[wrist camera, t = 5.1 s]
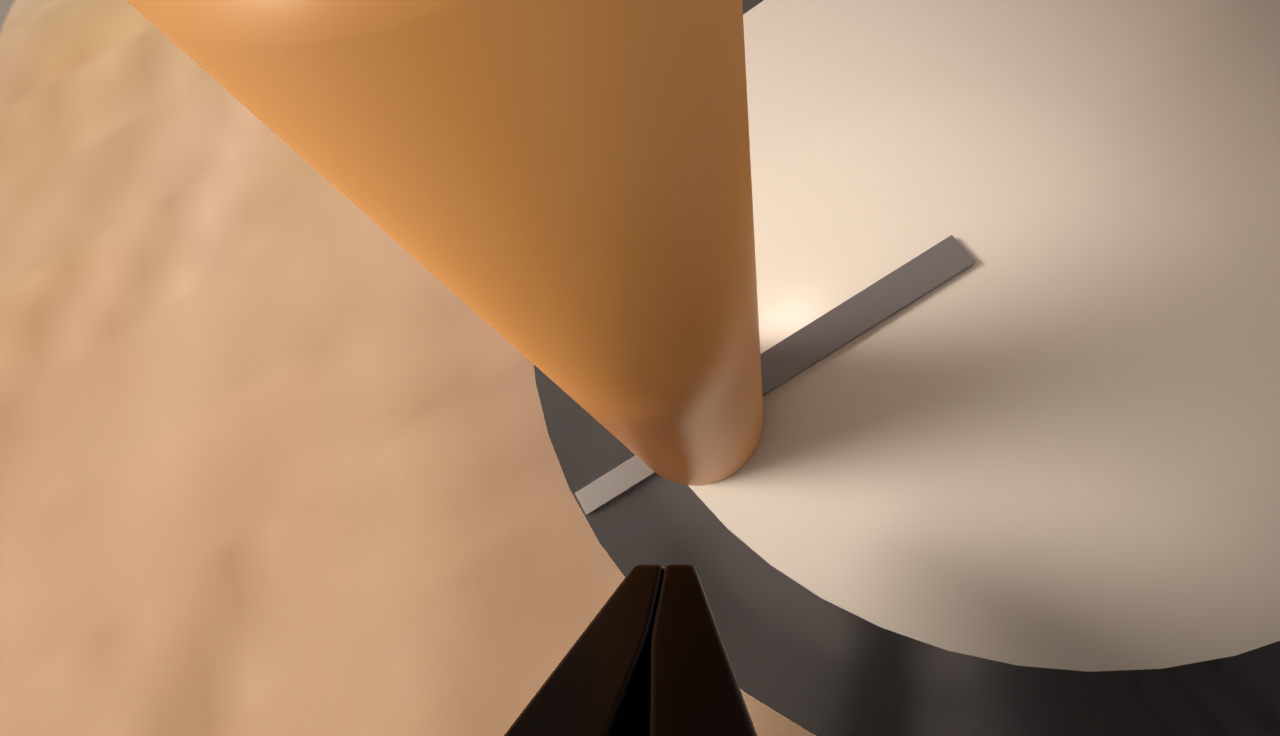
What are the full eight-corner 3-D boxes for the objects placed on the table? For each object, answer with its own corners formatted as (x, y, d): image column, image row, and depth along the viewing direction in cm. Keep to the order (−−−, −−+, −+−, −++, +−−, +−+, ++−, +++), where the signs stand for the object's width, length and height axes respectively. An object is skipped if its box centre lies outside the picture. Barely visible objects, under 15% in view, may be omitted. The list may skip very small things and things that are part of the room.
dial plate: (1866, 545, 12) (2039, 541, 10) (727, 943, 13) (721, 994, 12) (1121, -158, 20) (1151, -223, 18) (466, 137, 22) (441, 102, 20)
